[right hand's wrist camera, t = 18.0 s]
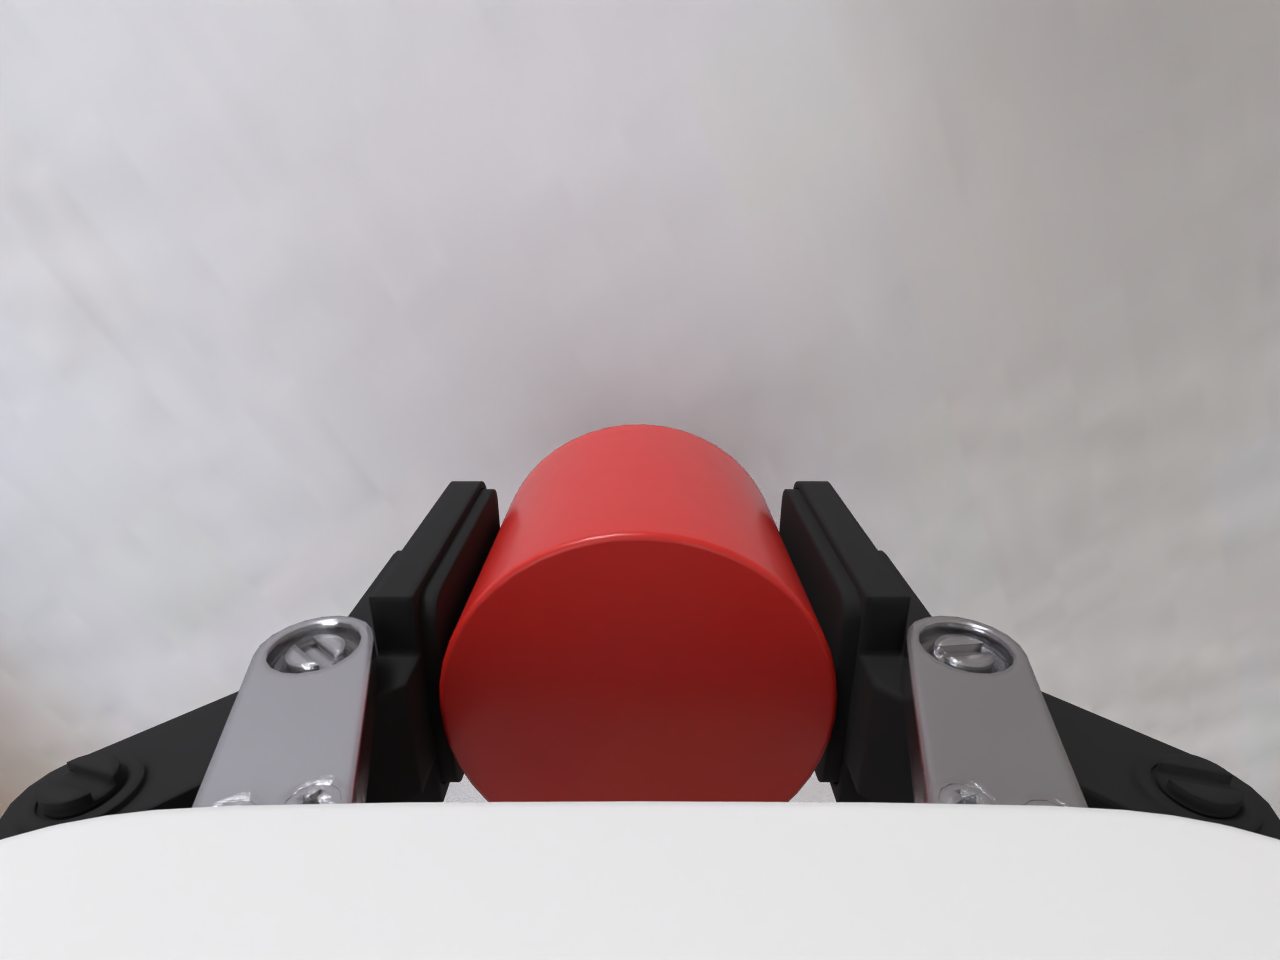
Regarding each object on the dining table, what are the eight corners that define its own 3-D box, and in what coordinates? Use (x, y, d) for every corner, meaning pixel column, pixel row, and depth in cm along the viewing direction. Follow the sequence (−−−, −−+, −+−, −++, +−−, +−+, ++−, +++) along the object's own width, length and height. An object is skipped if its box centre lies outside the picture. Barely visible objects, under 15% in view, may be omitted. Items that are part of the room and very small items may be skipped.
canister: (450, 500, 12) (355, 644, 8) (701, 372, 11) (735, 459, 7) (588, 701, 14) (566, 904, 10) (816, 601, 13) (897, 779, 9)
